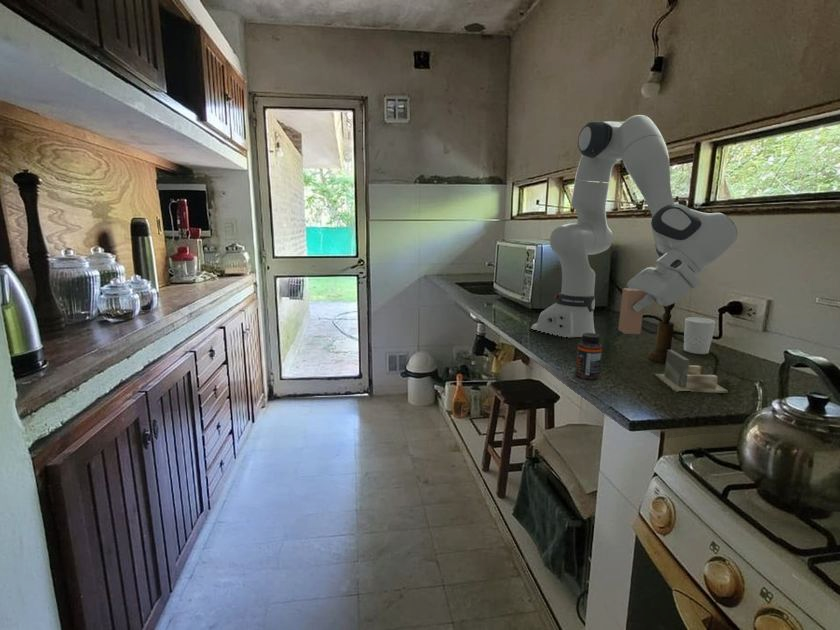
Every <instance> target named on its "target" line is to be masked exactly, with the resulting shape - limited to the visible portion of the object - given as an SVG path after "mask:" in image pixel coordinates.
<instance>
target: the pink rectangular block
mask: <svg viewBox="0 0 840 630" xmlns="http://www.w3.org/2000/svg"><path fill="white" fill-rule="evenodd" d="M621 293H622V294H621V303H620V311H619V319H618V331H619V332H621V333H622V334H624V335H626V334H627V335H628V334H629V335H641V332H642V325H643V316H644V315H643V314H644V310H645V307H644V308H642V309H641V310H640V311H639V312H636V311H634V310H633V309H632V308H631V306H632V305H633V304H634V303H635V302H638V301H640V300H641V299H643V298H644V296H645V293H644V291H643V290H640V289H637V288H629V287H624V288H622V292H621Z"/></svg>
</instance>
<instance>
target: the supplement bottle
mask: <svg viewBox="0 0 840 630" xmlns="http://www.w3.org/2000/svg"><path fill="white" fill-rule="evenodd" d="M599 340H600V334H597V333H595V334H594V333H584V334H583V336H582V337H581V341H579V342H577V351H576V362H575V364H576V365H575V375H576V376H577V377H578V376H579V377H578V378H580V377H581V379H583V380H597V379H598V378H600V374H601V364H602V356H603V355H602V353H603V345H602V344H601V343H600V342H599Z"/></svg>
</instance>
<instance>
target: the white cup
mask: <svg viewBox="0 0 840 630" xmlns="http://www.w3.org/2000/svg"><path fill="white" fill-rule="evenodd" d="M715 325H716V321H715V320H713V319H710V318H703V317H695V316H694V317H686V318H685V321H684V329H683V331H684V333H683V335H684V336H683V351H685V352H686V353H691V354H694V355H695V354H697V355H708V354H709V352H710V347H711V344H712V341H713V337H714V332H715Z"/></svg>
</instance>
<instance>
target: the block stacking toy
mask: <svg viewBox="0 0 840 630" xmlns="http://www.w3.org/2000/svg"><path fill="white" fill-rule="evenodd" d="M701 371H702V366H700V365H693V364H692V365H691V364H690V359H689V358H687V357H685V356H683V355H682V354H680V353H678V352H677V351H675V350H673V349H671V350H667V358H666V363H665V368H664V373H654V376H655V377H656V378H657V379H659V380H660V381H661V382H662V381H663V382H662V383H664V384H665V383H666V384H667V385H666V384H665V385H666V386H668V387H669V386H670V387H671V388H672V390H673V391H674V390H675V391H674V392H679V391H691V392H690V393H713V394H714V393H720V394H728V393H729V390H728V389H726V388H724V387H723V386H720V385H719V384H718V376H717V375H716V374H701ZM670 387H669V388H670ZM671 388H670V389H671Z"/></svg>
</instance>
